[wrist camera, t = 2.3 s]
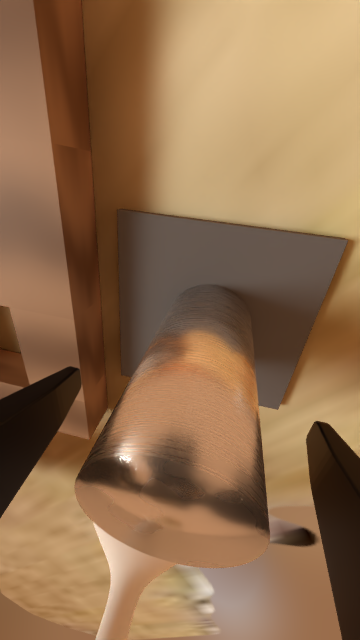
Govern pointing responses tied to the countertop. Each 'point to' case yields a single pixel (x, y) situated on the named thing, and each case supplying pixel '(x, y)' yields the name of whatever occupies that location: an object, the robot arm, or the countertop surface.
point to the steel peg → (186, 442)
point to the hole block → (49, 206)
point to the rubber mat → (225, 284)
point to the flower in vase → (125, 584)
